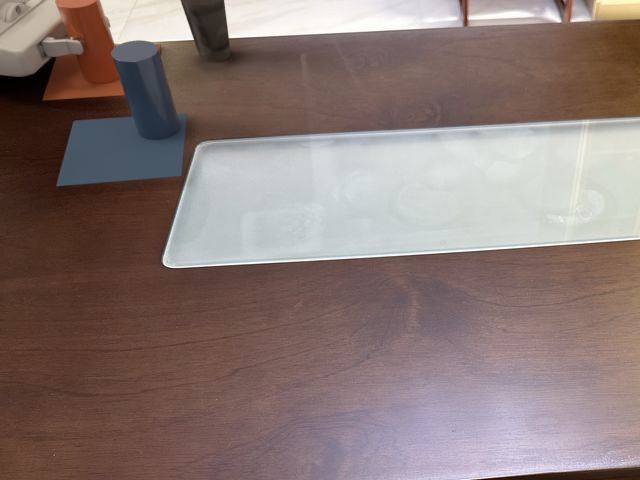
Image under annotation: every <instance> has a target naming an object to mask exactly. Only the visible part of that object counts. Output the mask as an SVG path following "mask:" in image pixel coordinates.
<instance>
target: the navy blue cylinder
mask: <svg viewBox="0 0 640 480" xmlns="http://www.w3.org/2000/svg"><path fill="white" fill-rule="evenodd" d="M155 44H156V43H154V42H151V41H149V40H141V39H138V40H130V41H125V42H122V43H120V44H118V45H115V46H116V47H115V48H114V49H113V50H112V52H111V56H112V59H113V62H114V64H115V67H116V70H117V73H118V76H119V79H120V82H121V85H122V88H123V91H124V94H125V95H124V96H125V100H126V102H127V105H128V108H129V112H130V114H131V117H133V120H134V123H135V126H136V128H137V131H138V134H139V135H140V136H142V137H143V138H146V139H152V140H158V139H164V138H168V137H170V136H172V135H174V134H176V133H177V132H178V131H179V129H180V122H179V119H178V115H177V114H178V112H177V109H176V105H175V102H174V98H173V95H172V92H171V87H170V84H169V81H168V78H167V74H166V70H165V67H164V63H163V61H162V57H161V52H160V53H159V50H158V47H157V46H156V45H155Z"/></svg>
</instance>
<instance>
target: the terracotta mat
mask: <svg viewBox="0 0 640 480" xmlns="http://www.w3.org/2000/svg"><path fill="white" fill-rule="evenodd" d="M154 44H155V45H156V46H157V47H158V50H159V53H160V54H161V51H162V46H161V43H154ZM116 46H117V45H115V47H116ZM117 96H118V97H119V96H125V94H124V91H123V88H122V85H121V82H120V79H117V80H115V81H112V82H109V83H103V84H96V83H90V82H88V81H86V80H85V79H84V77H83V74H82V72H81V69H80V66H79V64H78V61H77V58H76V56H75V54H69V55H64V56H59V57H55V60H54V63H53V67H52V70H51V72H50V76H49V79H48V81H47V85H46V88H45V91H44V94H43V97H42V101H55V100H56V101H57V100H69V99H70V100H71V99H85V98H86V99H87V98H101V97H103V98H104V97H117Z"/></svg>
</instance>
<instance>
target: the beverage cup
mask: <svg viewBox="0 0 640 480" xmlns="http://www.w3.org/2000/svg"><path fill="white" fill-rule="evenodd" d="M179 1H180V3H181V6H182V9H183V12H184V15H185V18H186V21H187V24H188V28H189V30H190V33H191V36H192V39H193V41H194V44H195V47H196V51H197V53H198V54H199V57H200V58H201V60H203V61H205V62H208V63H216V62H217V63H218V62H223V61H225V60H227V59H228V58H230V56H231V44H230V36H229V27H228V19H227V12H226V11H227V10H226V4H225V0H179Z"/></svg>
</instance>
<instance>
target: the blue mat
mask: <svg viewBox="0 0 640 480" xmlns="http://www.w3.org/2000/svg"><path fill="white" fill-rule="evenodd" d="M177 115H178V119H179V122H180V129H179V131H178V132H177V133H176V134H174V135H172V136H170V137H168V138H164V139H158V140H152V139H146V138H143V137H142V136H140V135H139V134H138V131H137V128H136V126H135V123H134V120H133V117H132V116H123V117H107V118H95V119H94V118H92V119H80V120H79V119H77V120H73V122H72V125H71V129H70V132H69V136H68V141H67V144H66V148H65V151H64V155H63V158H62V162H61V166H60V170H59V174H58V178H57V181H56V184H55V187H66V186H78V185H79V186H80V185H89V184H90V185H91V184H105V183H116V182H126V181H127V182H129V181H139V180H151V179H164V178H165V179H166V178H175V177H182V176H183V175H182V174H183V164H184V153H185V152H184V151H185V143H186V141H185V140H186V130H187V118H188V112H183V113H182V112H181V113H177Z"/></svg>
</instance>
